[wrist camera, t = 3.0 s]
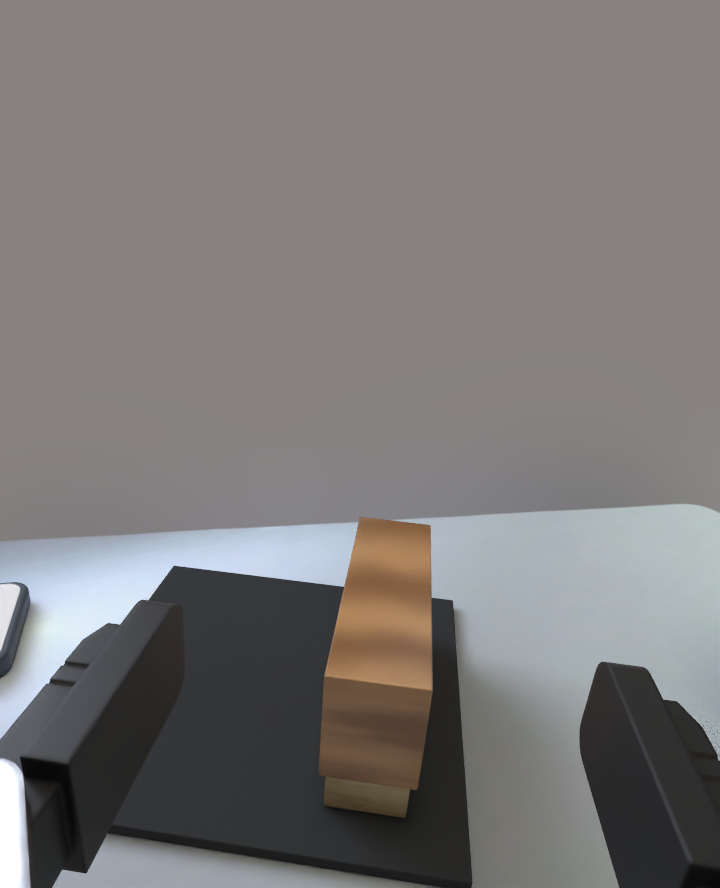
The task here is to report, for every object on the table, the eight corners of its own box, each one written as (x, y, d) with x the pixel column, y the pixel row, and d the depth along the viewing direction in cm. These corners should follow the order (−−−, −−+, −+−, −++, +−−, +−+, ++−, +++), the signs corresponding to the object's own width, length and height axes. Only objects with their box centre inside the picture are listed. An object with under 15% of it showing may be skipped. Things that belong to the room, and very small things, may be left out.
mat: (451, 606, 43) (452, 600, 43) (470, 892, 25) (472, 883, 25) (174, 571, 45) (173, 565, 45) (-2, 815, 27) (-4, 806, 26)
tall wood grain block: (351, 622, 40) (360, 516, 37) (416, 630, 40) (430, 524, 37) (315, 813, 27) (324, 675, 24) (412, 828, 27) (432, 690, 24)
